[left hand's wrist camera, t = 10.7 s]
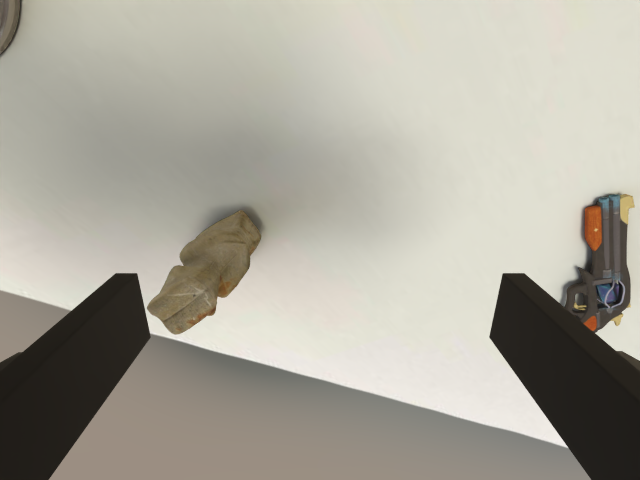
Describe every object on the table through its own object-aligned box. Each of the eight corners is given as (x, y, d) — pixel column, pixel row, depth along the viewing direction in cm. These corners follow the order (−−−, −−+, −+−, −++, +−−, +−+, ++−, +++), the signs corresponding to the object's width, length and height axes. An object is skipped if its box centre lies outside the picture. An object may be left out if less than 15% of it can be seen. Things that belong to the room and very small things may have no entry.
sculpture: (191, 228, 40) (122, 297, 26) (243, 195, 39) (200, 250, 25) (223, 268, 42) (174, 352, 28) (273, 238, 40) (249, 311, 26)
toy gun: (546, 360, 44) (639, 350, 42) (535, 215, 38) (641, 194, 36) (536, 347, 46) (623, 336, 44) (525, 209, 41) (623, 189, 39)
